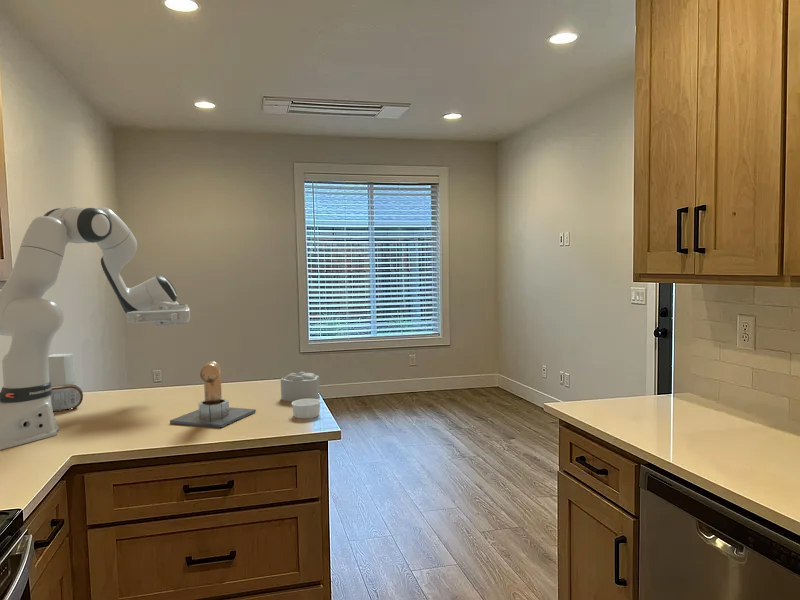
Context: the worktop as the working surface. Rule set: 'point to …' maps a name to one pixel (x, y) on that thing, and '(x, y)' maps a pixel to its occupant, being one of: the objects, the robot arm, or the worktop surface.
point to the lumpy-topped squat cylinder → (300, 386)
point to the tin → (66, 397)
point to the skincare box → (62, 369)
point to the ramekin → (306, 408)
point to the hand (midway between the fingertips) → (154, 318)
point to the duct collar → (213, 415)
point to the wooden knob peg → (212, 383)
